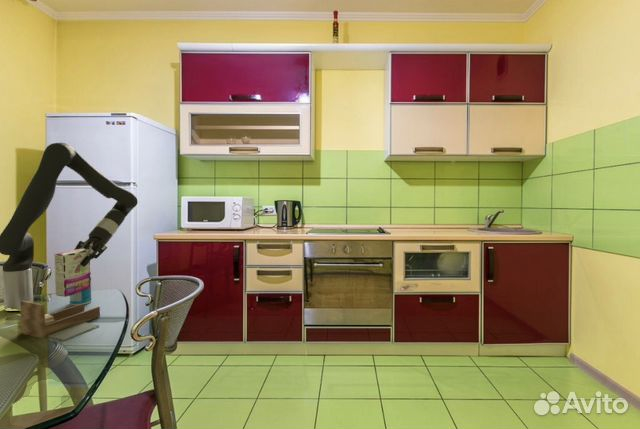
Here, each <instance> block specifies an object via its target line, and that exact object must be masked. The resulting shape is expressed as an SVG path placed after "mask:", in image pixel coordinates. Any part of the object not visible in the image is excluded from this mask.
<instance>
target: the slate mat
mask: <svg viewBox="0 0 640 429" xmlns="http://www.w3.org/2000/svg"><path fill="white" fill-rule="evenodd" d="M97 326H99V327H100V325H98V324H94V323H89V322H83V323H80V324H78V325H75V326H73V327H70V328H67V329H65V330H62V331H59V332H57V333H54V334H51V335H49V336H47V337H48V338H51V339H54V340H59V341H62V342H65V341H68V340H70V339H73V338H74V337H77V336H79V335H82V334H84V333H85V334H86V333H87V332H89V330H90V331H92V330H94V329H93V328H95V327H97ZM97 328H98V327H97ZM91 329H92V330H91ZM95 329H96V328H95Z"/></svg>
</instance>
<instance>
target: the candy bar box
mask: <svg viewBox="0 0 640 429" xmlns="http://www.w3.org/2000/svg"><path fill="white" fill-rule="evenodd" d="M87 254H88V250H87V249H84V248H83V249H77V250H74V249H73V250H67V251H64V252H58V253H55V254H54V276H55V277H54V278H55V282H54V283H55V296H57V297H64V298H66V297H67V298H68V297H70V295H73V294H76V293H79V292H82V291H84V290H87V289H90V277H91V274H90V272H91V260H90V261H89V263H88V264H87V265H86V266H85V267H83V266H81V265H80V263H81V262H82V260H83V259H84V258H85V257H86V256H87Z"/></svg>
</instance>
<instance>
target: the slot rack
mask: <svg viewBox="0 0 640 429" xmlns="http://www.w3.org/2000/svg"><path fill="white" fill-rule="evenodd" d="M20 305H21V311H20V321H21V334H22V333H23V334H24V335H28V336H31V337H34V338H35V337H36V338H38V339H39V338H40V339H41V340H42V339H45V338H47V337H48V336H49V335H51V334H54V333H57V332H59V331H62V330H65V329H67V328H70V327H73V326H75V325H78V324H80V323H83V322H85V323H87V322H88V321H90V320H94V319H96V318H97V319H98V318H99V317H101V307H100V306H95V307H92V308H89V309H87V310H85V304H79V305H72V306H71V307H66V308H63V309H61V310H57V311H55V312H52V313H47V314H48V315H51V316H53V319H54V320H55V322H52V323H49V324H46V325H45V314H46V313H45V304H43V303H39V302H34V301H33V302H30V301H25V300H22V301H20Z"/></svg>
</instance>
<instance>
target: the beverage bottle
mask: <svg viewBox="0 0 640 429" xmlns="http://www.w3.org/2000/svg"><path fill="white" fill-rule="evenodd" d="M91 274H92V273H91V271H90V275H91ZM91 302H92V277H91V276H90V289H87V290H84V291H82V292H79V293H76V294H73V295H70V296H69V305H71V306H76V305H79V304H84V305H87V304H89V303H91Z"/></svg>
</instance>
